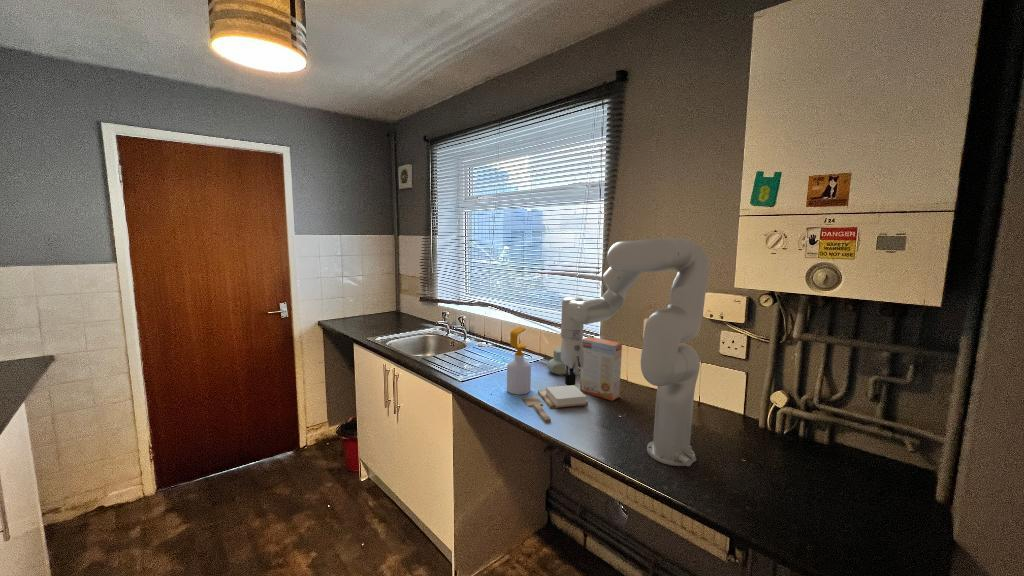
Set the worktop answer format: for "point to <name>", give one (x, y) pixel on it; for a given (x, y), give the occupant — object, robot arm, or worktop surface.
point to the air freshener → (556, 363)
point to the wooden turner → (537, 407)
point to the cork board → (547, 400)
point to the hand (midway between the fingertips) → (570, 384)
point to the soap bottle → (518, 368)
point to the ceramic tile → (565, 396)
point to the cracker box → (601, 368)
